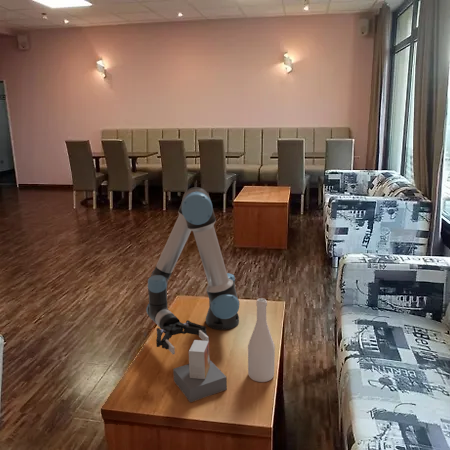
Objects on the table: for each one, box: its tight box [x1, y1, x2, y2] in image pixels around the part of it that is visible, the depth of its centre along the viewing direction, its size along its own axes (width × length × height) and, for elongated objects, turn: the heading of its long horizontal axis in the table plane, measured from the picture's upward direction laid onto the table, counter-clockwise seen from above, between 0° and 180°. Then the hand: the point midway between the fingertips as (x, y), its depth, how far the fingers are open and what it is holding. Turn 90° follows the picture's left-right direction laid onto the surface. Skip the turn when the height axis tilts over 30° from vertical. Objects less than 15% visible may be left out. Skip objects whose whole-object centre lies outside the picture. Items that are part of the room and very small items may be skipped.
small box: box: [188, 339, 211, 379], centre depth 157 cm, size 8×6×10 cm
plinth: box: [172, 358, 228, 403], centre depth 159 cm, size 14×14×5 cm
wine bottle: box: [247, 297, 276, 383], centre depth 161 cm, size 10×10×30 cm
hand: (191, 345), depth 162 cm, fingers open, 13 cm apart
